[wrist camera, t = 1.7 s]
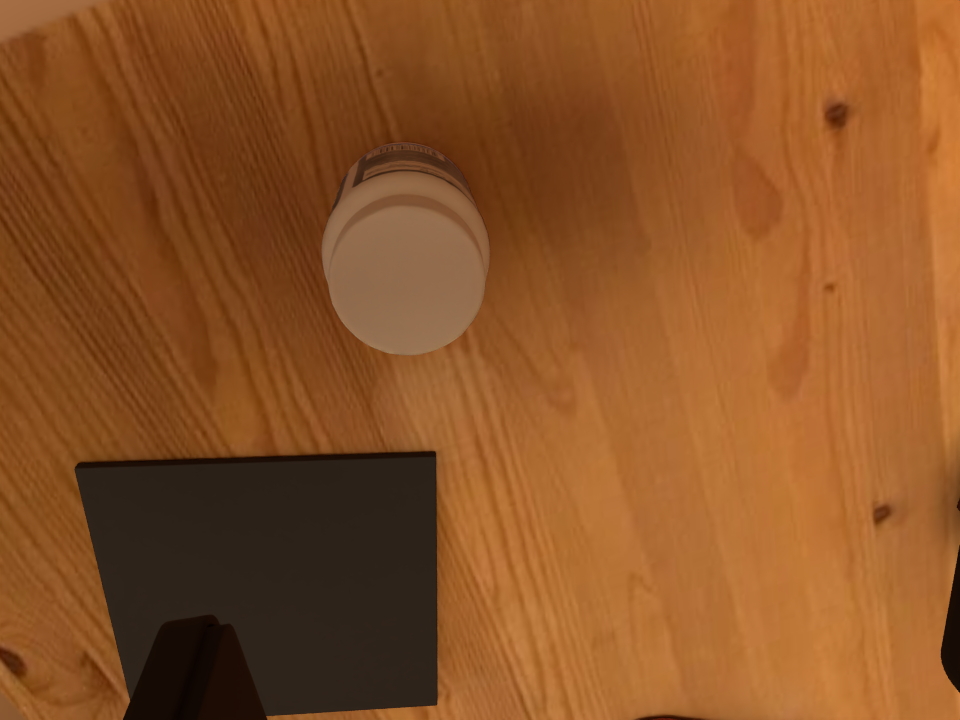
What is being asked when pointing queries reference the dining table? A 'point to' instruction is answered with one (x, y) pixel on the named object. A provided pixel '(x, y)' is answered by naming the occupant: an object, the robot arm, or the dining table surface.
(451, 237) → the pill bottle
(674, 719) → the popsicle
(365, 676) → the slate mat
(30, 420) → the dining table surface
